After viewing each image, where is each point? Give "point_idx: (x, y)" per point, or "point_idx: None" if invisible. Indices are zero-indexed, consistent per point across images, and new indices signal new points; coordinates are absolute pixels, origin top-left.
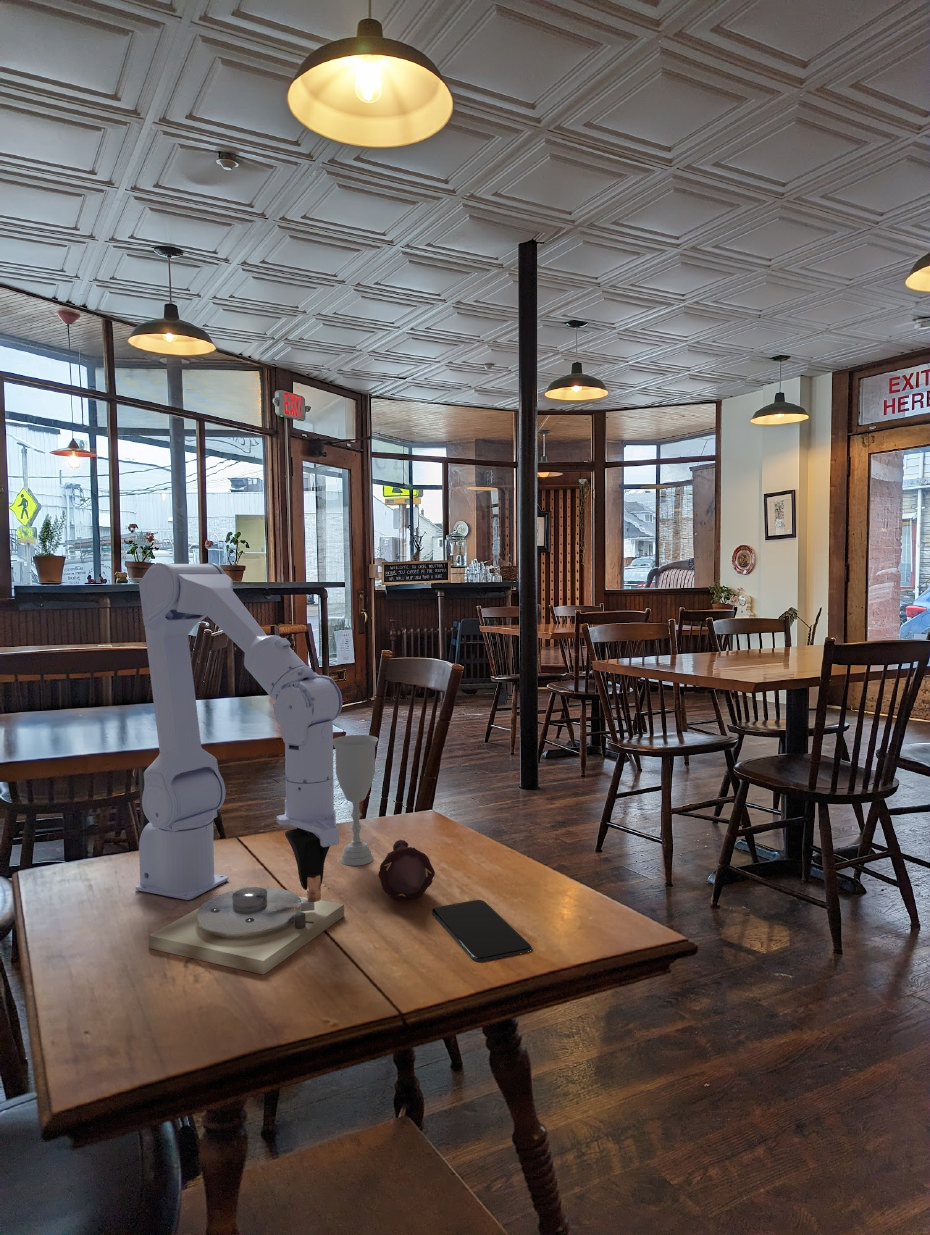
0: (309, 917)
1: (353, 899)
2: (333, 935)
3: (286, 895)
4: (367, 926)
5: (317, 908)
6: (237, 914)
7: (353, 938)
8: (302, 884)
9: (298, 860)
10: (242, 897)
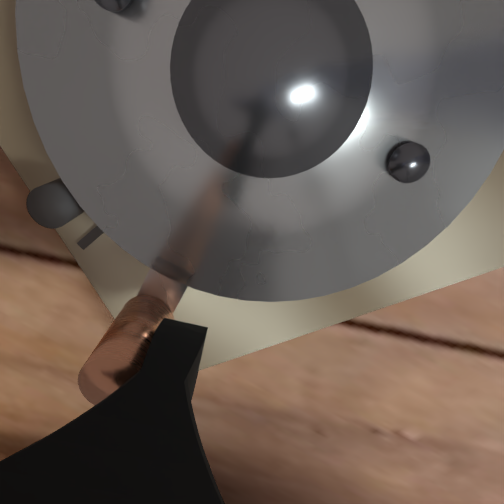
0: (131, 259)
1: (253, 430)
2: (66, 272)
3: (267, 268)
4: (67, 364)
5: (183, 315)
6: None
7: (16, 299)
8: (171, 327)
9: (114, 402)
10: (244, 6)
